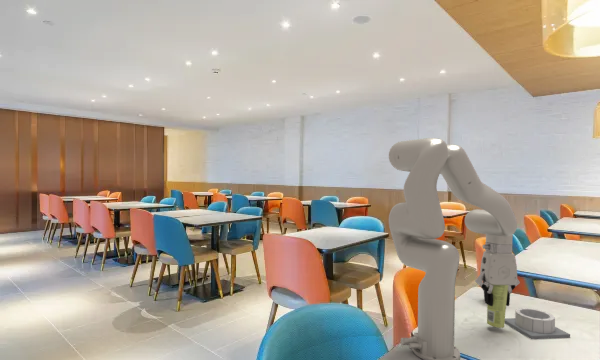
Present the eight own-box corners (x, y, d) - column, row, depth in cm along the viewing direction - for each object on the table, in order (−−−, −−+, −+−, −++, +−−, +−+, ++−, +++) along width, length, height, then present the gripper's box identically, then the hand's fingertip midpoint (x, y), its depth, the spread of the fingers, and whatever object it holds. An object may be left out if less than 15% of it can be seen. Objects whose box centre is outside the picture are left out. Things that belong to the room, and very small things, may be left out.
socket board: (531, 339, 106) (531, 322, 106) (502, 321, 119) (502, 306, 119) (570, 337, 107) (570, 321, 107) (537, 320, 120) (537, 305, 120)
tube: (501, 322, 115) (502, 263, 115) (509, 329, 109) (511, 267, 110) (483, 321, 115) (485, 262, 115) (491, 328, 110) (493, 266, 110)
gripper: (481, 250, 108) (479, 308, 107) (531, 251, 109) (530, 308, 109) (467, 245, 115) (465, 300, 115) (514, 246, 117) (513, 300, 117)
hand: (496, 304), depth 112 cm, fingers closed on tube, 4 cm apart
